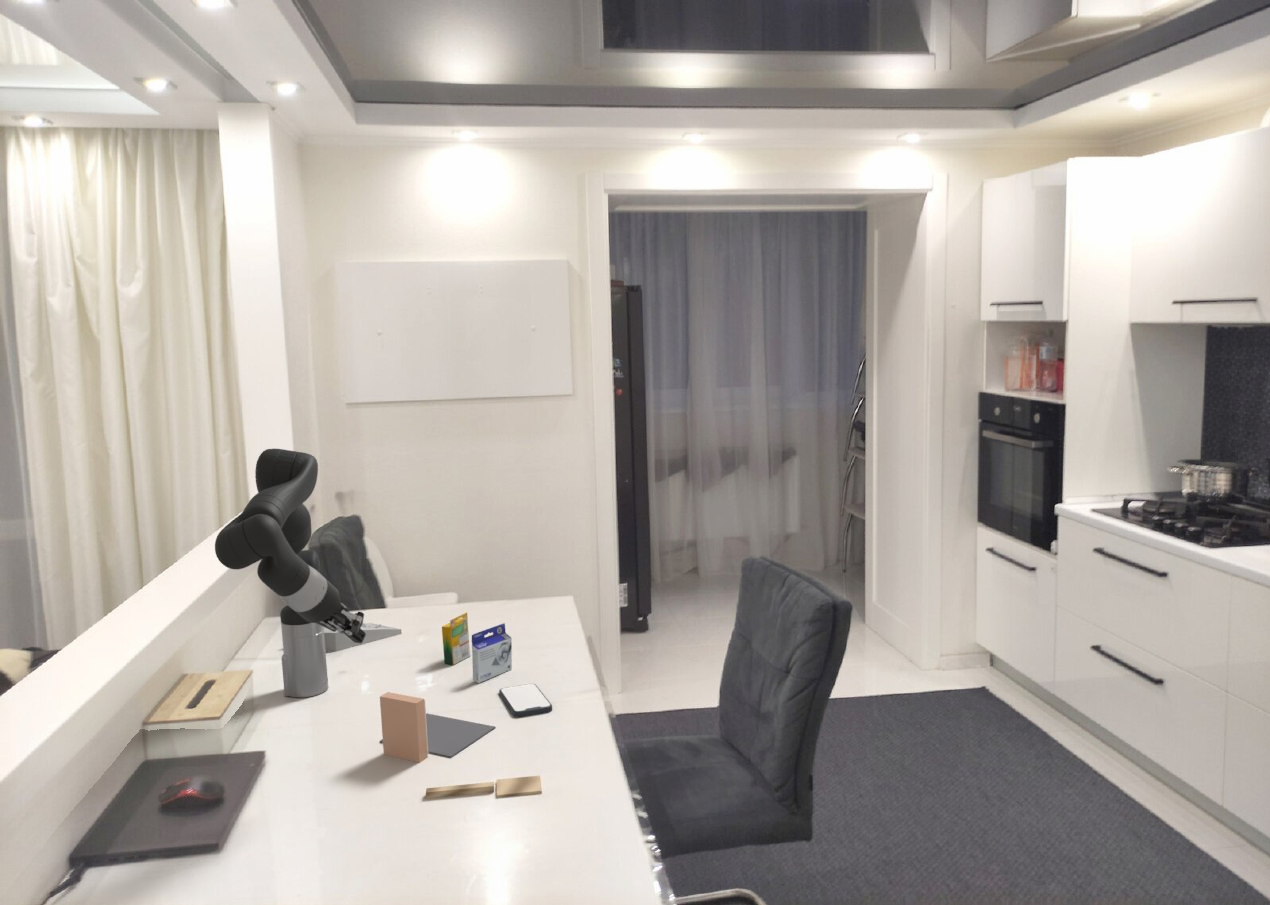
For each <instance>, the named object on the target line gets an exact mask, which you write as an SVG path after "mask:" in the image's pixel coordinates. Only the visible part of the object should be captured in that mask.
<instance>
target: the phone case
mask: <svg viewBox="0 0 1270 905" xmlns="http://www.w3.org/2000/svg"><path fill="white" fill-rule="evenodd" d="M498 694H499V696H500V698H501V699H502V701H503V702H504V704H505V705H506V706H507V708H508V710H509V712H510V713H511V714H512V716H513V717H515V718H523V717H530V716H535V715H541V714H546V713H547V714H548V713H551V712H552V711H553V705H552V703H551V702H550V700H549V699H548V698H547V697H546V695H545V694H544V693H543V692H542V691H541V690H540V688H539V687H538V686H537V684H536V683H528V684H520V685H514V686H513V685H512V686H507V687H503V688H499V691H498Z"/></svg>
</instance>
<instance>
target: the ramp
mask: <svg viewBox="0 0 1270 905" xmlns="http://www.w3.org/2000/svg"><path fill="white" fill-rule="evenodd" d="M360 629H362V630H363V631H364V632H365V633H366V636H365V638H364V640H363V642H362V643H355V642H353V641H352V640H351V639H350V638H349V637H347V636H346V635H345V634H341V633H339V632H338V631H337V630H336V632H334V631H331V630H329V629H327V628H325V627H324V639H325V651H327V652H328V651H329V652H335V653H336V652H340V651H344V650H347V649H348V650H349V649H351V647H352V648H356V647H359V646H362V645H366V644H369V643H373V642H377V641H380V640H384V639H388V638H392V637H396V636H399V635H402V629H401V628H397V627H393V626H392V627H391V626H387V625H382V624H381V623H380V624H378V623H373V622H363V624H362V626H361V628H360Z"/></svg>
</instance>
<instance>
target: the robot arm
mask: <svg viewBox="0 0 1270 905" xmlns="http://www.w3.org/2000/svg"><path fill="white" fill-rule="evenodd" d="M318 471H319V463H318V460H317V459H316V457H315V456H314V455H312V454H309V453H306V452H302V451H295V450H288V449H284V448H267V449H264V450H263V451H262V452H261V453H260V455H259V456H258V458H257V461H256V464H255V470H254V472H255V473H254V474H255V477H254V478H255V485H256V489H257V493H256V494H255V495H254V496H253V497H252V498H251V499H250V500H249V501H248V502H247V505H246V506H245V507H244V508H243V510H242V512H241V513H240V514H239V515H238V516H236V517H235V518H234V519H233V520H231V521H230V522H229V523H228V524H227V525H225V526H224V527H223V528H222V529H221V530H220V531H219V533H218V534H217V536H216V539H215V542H214V552H215V553H214V554H215V556H216V558H217V560H218V561H219V562H220V564H222V565H223V566H224V567H225V568H227V569H231V570H242V569H245V568H247V567H250V566H251V565H254V564H255V563H258V562H259V561H260V562H259V563H258V567H257V577H258V578H259V580H260V581H261V582H262V584H264V585H266V587H268V588H269V589H270V590H272V591H273V592H274V593H275V594H276V595H278V596H279V599H281V600H282V602H283V603H285V606H284V607H283V608H281V610H280V614H279V615H280V625H281V627H280V628H281V639H282V650H283V654H282V655H281V667H282V681H283V682H282V683H283V690H284V691H283V693H284V694H283V695H284V697H291V698H310V697H314V696H317V695H321V694H322V693H324V692H326V691H328V689H329V678H328V677H329V676H328V667H327V666H328V665H327V652H326V650H325V639H324V627H325V628H327V629H329V630H331V631H334V632H336V630H337V631H338V632H339V633H341V634H345V635H346V636H347V637H349V638H350V639H351V640H352V641H353V642H355V643H362V642H363V640H364V638H365V636H366V633H365V632H364V631H363V630H362V629H360V628H361V626H362V624H363V623H364V616H365V613H363V612H362V611H357V612H355V613H353V612H350V609H349V607H347V606H346V605H345V604H344V603H342V602H341V595H340V591H339V590H338V588H336V586H334V585H333V584H332V583H331V582H330V581H329V580H328V579H326V577H324V575H322V573H321V562H320V557H319V555H318V552H317V550H314V549H305V548H306V546H307V545H308V543H309V542H310V540H311V537H312V519H311V514H310V512H309V510H308V508H307V506H306V505H305V504H304V503H305V502H306V501H307V500H308V499H309V498H310V497H311V496H312V494H313V492H314V490H315V487H316V485H317V480H318V475H319V474H318V473H319V472H318ZM304 549H305V550H304Z"/></svg>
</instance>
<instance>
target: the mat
mask: <svg viewBox="0 0 1270 905" xmlns="http://www.w3.org/2000/svg"><path fill="white" fill-rule="evenodd" d="M426 723H427V739H428V754H432V755H436V756H441V757H446V758H453V757H455V756H456V755H457V754H459V753H461V752H462V751H464V750H465V749H467V748H469V746H471V745H473V744H475V743H476V742H477V741H479V740H480V739H482V738H483V737H484V736H486V735H487V734H489V733H490V732H492V731H494V730H495V729H496V726H493V725H489V724H488V725H487V724H484V723H480V722H479V723H477V722H474V721H473V722H472V721H468V720H463V719H457V718H452V717H447V716H443V715H437V714H433V713H428V712H426ZM379 743H380V744H383V738H382V739H380V740H379Z"/></svg>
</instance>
